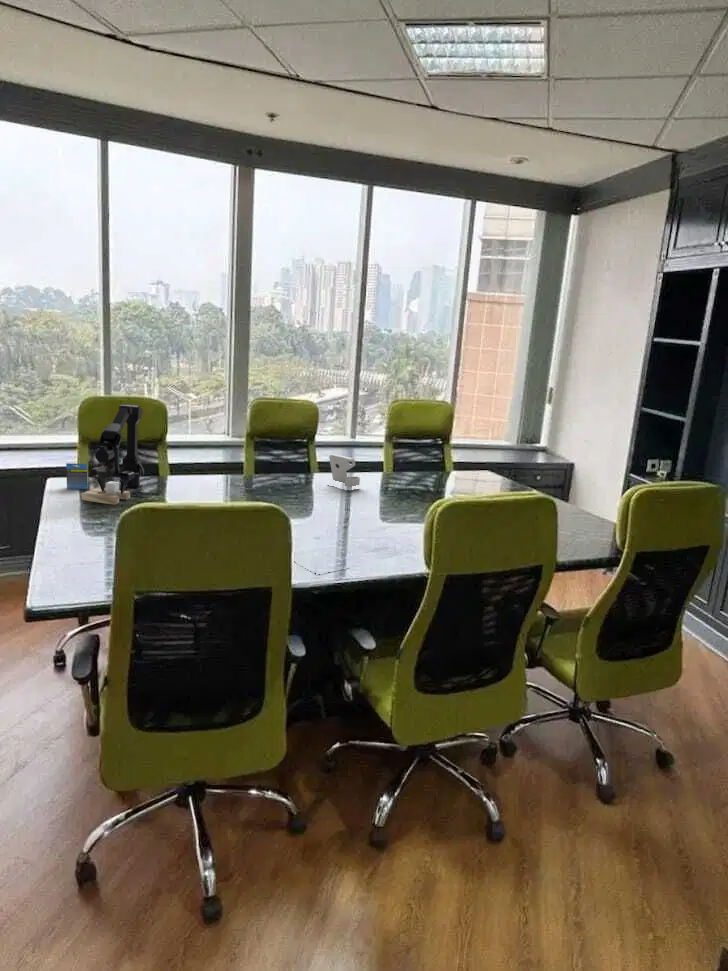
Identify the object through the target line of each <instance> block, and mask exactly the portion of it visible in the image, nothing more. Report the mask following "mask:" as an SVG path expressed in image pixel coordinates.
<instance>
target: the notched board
mask: <svg viewBox="0 0 728 971" xmlns="http://www.w3.org/2000/svg"><path fill="white" fill-rule="evenodd" d="M125 499H126V500H129V499H131V491H128V490H124V492H123V494H121V489H119V496H112V495H106V487H105V489H104V491H102V490H101V488H100V486H99V487H95V488H93V489H90V490H86V491H85V492H81V500H82V501H86V502H94V503H101V504H107V505H118V504H120V500H125Z"/></svg>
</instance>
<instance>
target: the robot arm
mask: <svg viewBox="0 0 728 971" xmlns="http://www.w3.org/2000/svg"><path fill="white" fill-rule="evenodd" d="M143 413H144V411H143V408H142V407H141V405H136V404H135V405H134V404H120V405H119V406H118V410H117V413H116V415H115V416H114V418H113V420H112V422H111V423H110V424H109V425H107V426H106V427H105V428H104V429H103V431H102V432H101V434H100V437H99V442H98V447H99V449H97V450H96V452H95V454H94V457H95V459H96V461H97V462H99V463H101V464H102V465H101V466H99V467H98V466H95V467H93V468H90V469H89V470H88V475H89V476H91V477H92V478H93V479H95V480H96V481H97V483H98V484H99V488H101V490H102V491H104V489H105V488H106V479H108V478H109V477H110V476H112V477H119V481H118V482H119V483H120V490H121V494H123V492H124V491H126V487H127V489H136V490H137V489H138V488H139V489H140V488H142V487H144V486H143V484H141V476H142V477H143V476H144V474H145V469H144V467H143V465H142V462H141V461H142V460H141V457H140V456H139V455H138V438H139V437H138V433H139V431H138V430H139V424H140V421H141V420H142V417H143ZM125 425H126V455H125V456H124V457H123V458H122V460H121V459H120V446H121V442H122V439H123V433H122V431H123V430H124V427H125ZM121 462H122V463H121ZM120 463H121V468H120Z"/></svg>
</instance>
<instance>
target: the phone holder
mask: <svg viewBox="0 0 728 971" xmlns="http://www.w3.org/2000/svg"><path fill="white" fill-rule="evenodd" d="M350 462H351V463H350ZM329 463H330V469H331V474H332V481H333V480H335V481H339V482H343V483H345V486H348V487H352V486H356V485H359V486H360V481H361V477H360V476H350V477H349V476H348V473H347V471H349V470H351V469H352V468H353V467H355V466H356V461H355V459H354V458H353V457H349V456H344V455H340V454H336V453H331V454H330V455H329ZM337 465H338V467H337Z"/></svg>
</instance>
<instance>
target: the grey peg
mask: <svg viewBox="0 0 728 971" xmlns="http://www.w3.org/2000/svg"><path fill="white" fill-rule="evenodd" d="M105 488H106V495H112V496H119V490H120V481H114V480H113V481H112V480H110V481H108V482H105Z"/></svg>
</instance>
